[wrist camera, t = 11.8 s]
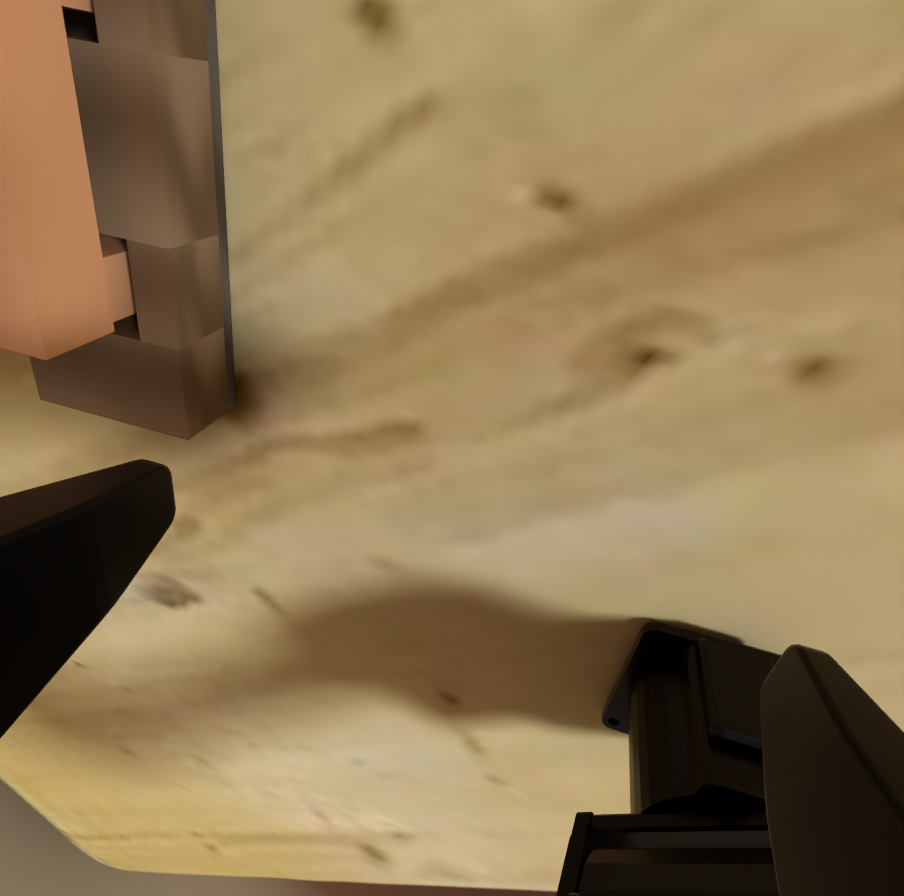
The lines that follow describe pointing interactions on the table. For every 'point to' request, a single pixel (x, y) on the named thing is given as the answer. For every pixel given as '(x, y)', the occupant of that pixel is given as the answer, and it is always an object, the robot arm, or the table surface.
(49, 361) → the rail
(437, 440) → the table surface
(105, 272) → the clip
